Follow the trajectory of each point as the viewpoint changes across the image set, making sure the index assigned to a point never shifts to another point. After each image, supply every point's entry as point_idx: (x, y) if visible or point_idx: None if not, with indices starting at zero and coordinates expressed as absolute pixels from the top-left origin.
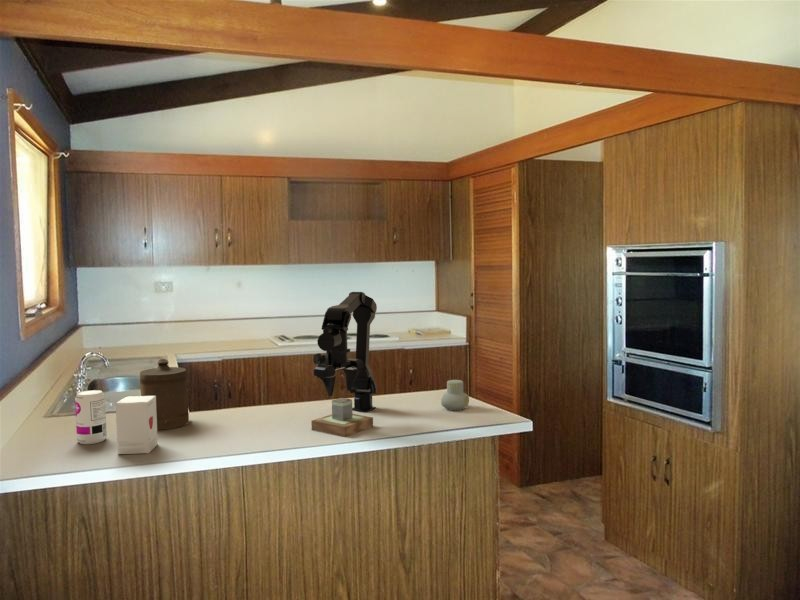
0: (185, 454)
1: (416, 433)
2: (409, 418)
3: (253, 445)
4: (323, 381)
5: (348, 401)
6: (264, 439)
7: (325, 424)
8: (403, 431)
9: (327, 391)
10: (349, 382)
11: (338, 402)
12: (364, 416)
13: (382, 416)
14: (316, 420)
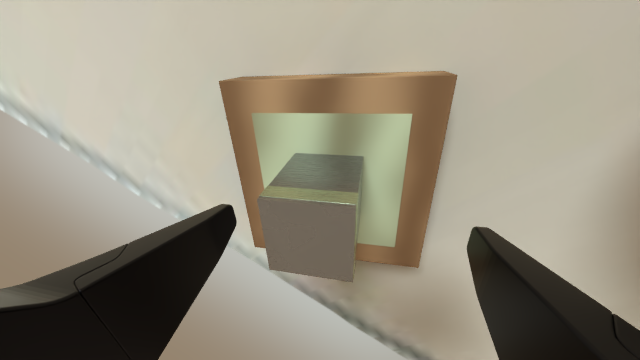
0: None
1: (406, 346)
2: (591, 297)
3: (12, 47)
4: (36, 291)
5: (319, 273)
6: (51, 15)
7: (239, 165)
8: (407, 322)
9: (185, 225)
10: (510, 326)
11: (267, 242)
12: (415, 237)
13: (604, 202)
14: (237, 100)
